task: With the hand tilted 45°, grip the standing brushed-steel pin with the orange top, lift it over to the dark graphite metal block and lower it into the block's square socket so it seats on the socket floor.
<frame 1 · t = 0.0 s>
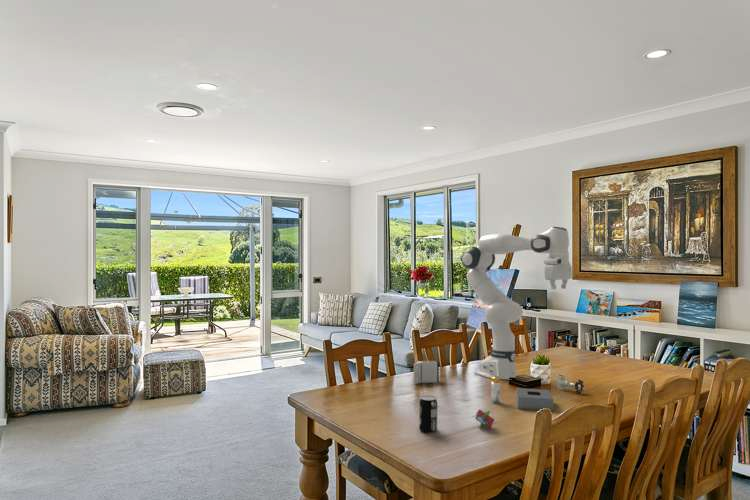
hand: (558, 288, 243), 48 cm above the table, tool pointing down, fingers open, 8 cm apart
socket block: (533, 405, 216), on the table
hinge: (425, 382, 253), on the table
geometric puzzle: (484, 428, 188), on the table
valve: (568, 391, 239), on the table
beverage can: (428, 430, 185), on the table
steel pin: (495, 402, 220), on the table
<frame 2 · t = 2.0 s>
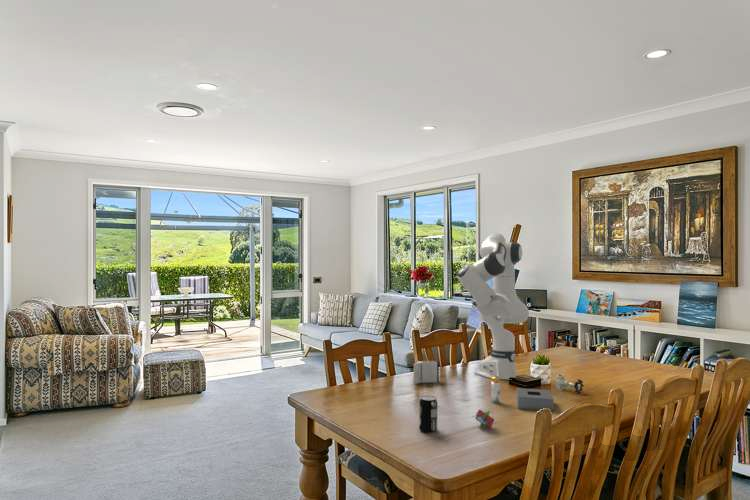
hand: (505, 320, 220), 36 cm above the table, tool tilted 40°, fingers open, 8 cm apart
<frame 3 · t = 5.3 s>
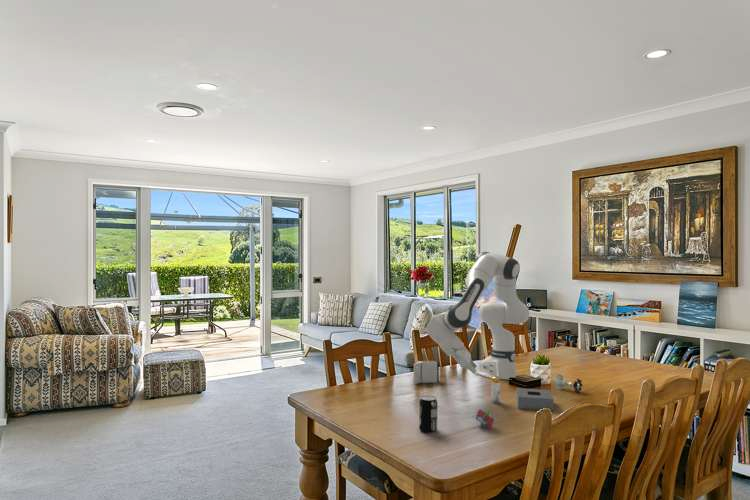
hand: (475, 369, 222), 14 cm above the table, tool tilted 45°, fingers open, 8 cm apart
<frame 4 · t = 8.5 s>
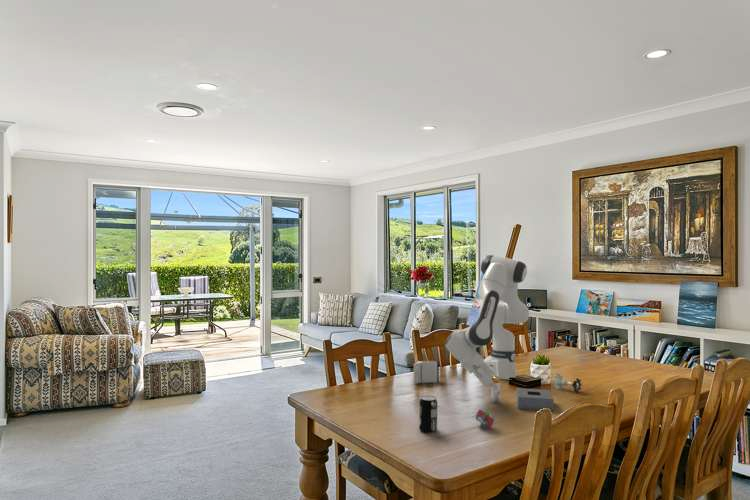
hand: (497, 387, 220), 7 cm above the table, tool tilted 45°, fingers closed on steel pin, 4 cm apart
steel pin: (495, 402, 220), on the table, touching gripper
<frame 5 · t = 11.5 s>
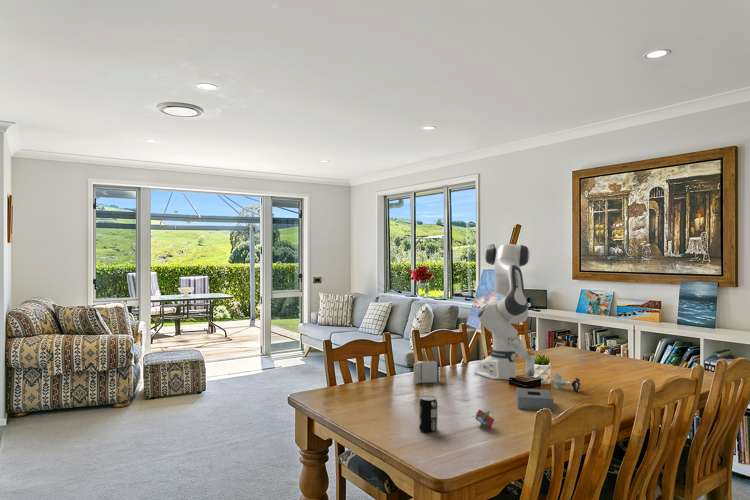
hand: (531, 360, 217), 19 cm above the table, tool tilted 45°, fingers closed on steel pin, 4 cm apart
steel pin: (529, 375, 217), point 13 cm above the table, touching gripper
when the fingers open (10 cm above the table, at t = 14.8 s): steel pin drops 2 cm, resting on socket block.
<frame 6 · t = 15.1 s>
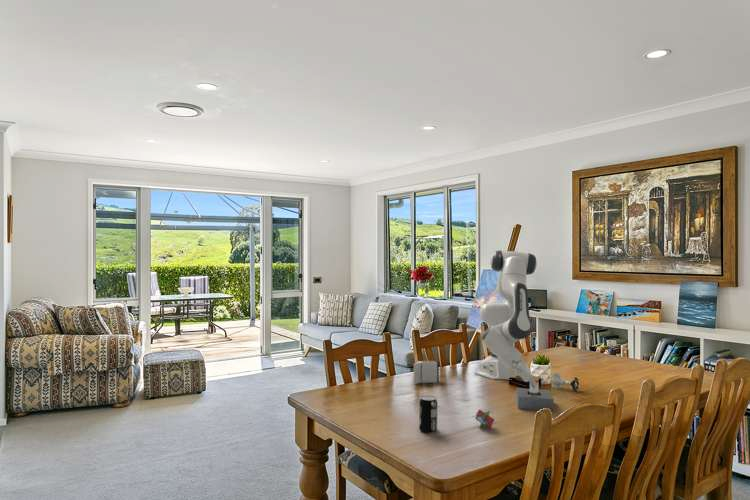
hand: (535, 382, 216), 10 cm above the table, tool tilted 45°, fingers open, 6 cm apart
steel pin: (533, 402, 216), point 1 cm above the table, touching socket block
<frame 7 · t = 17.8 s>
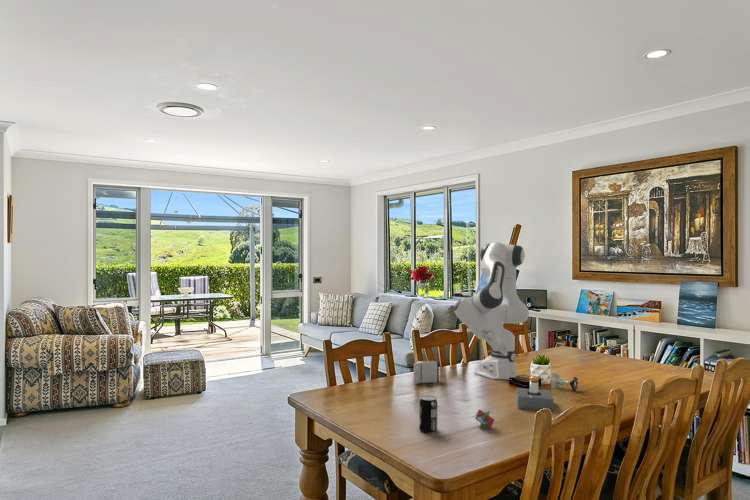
hand: (506, 352, 219), 22 cm above the table, tool tilted 45°, fingers open, 8 cm apart
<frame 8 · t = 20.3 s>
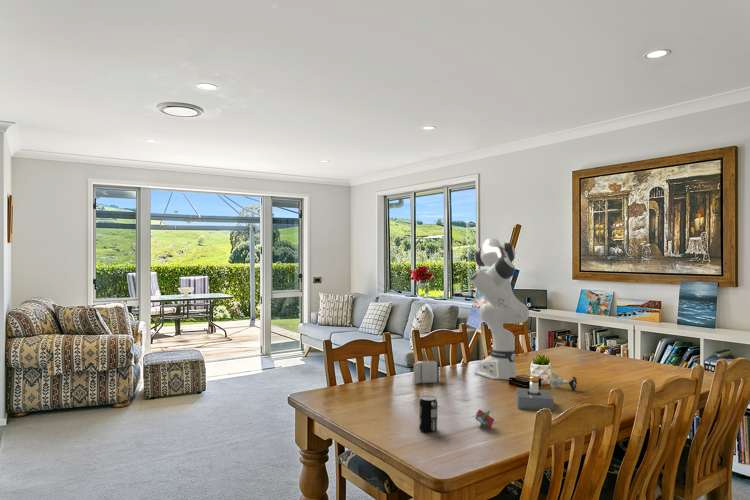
hand: (520, 320, 230), 34 cm above the table, tool tilted 45°, fingers open, 8 cm apart
at the end: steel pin 0.1 cm off-centre on the socket block, point 1.0 cm above the socket block's base; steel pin tilted 0°; the gripper is holding nothing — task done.
